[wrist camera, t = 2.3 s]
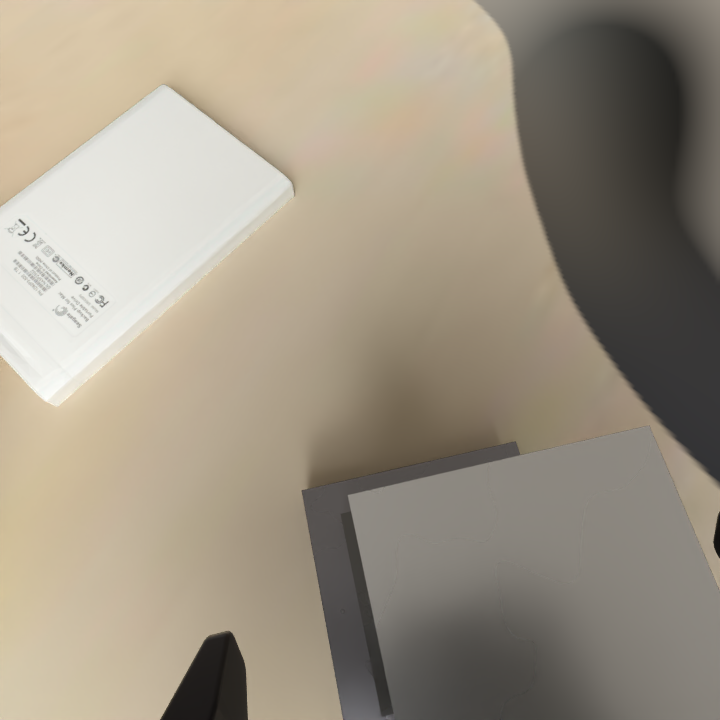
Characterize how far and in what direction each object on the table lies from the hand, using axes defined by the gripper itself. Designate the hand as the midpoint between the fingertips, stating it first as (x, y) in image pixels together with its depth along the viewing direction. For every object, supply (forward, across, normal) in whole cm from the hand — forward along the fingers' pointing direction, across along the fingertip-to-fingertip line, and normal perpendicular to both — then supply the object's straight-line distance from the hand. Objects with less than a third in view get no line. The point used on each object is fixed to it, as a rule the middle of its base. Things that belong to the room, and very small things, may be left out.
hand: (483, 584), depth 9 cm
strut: (+4, 0, +5) cm, 7 cm away
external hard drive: (+17, +9, -4) cm, 20 cm away
